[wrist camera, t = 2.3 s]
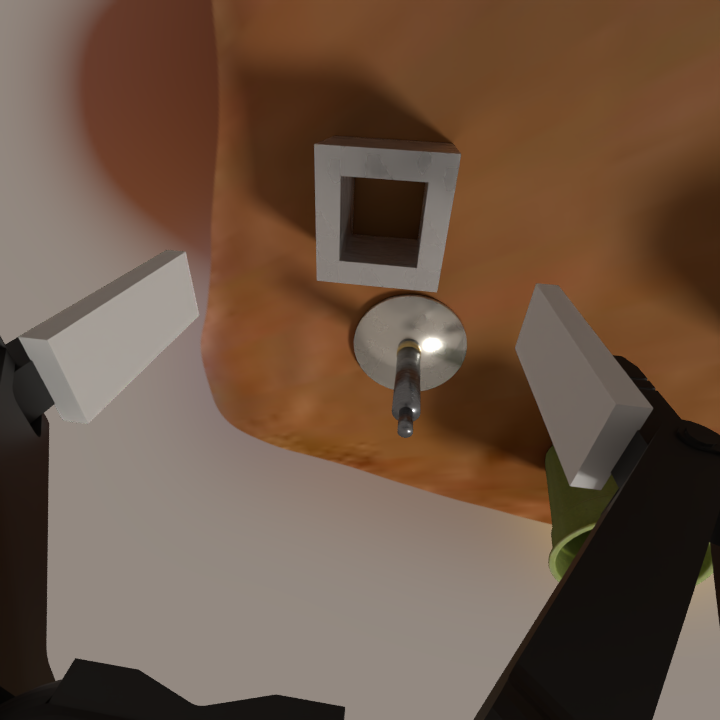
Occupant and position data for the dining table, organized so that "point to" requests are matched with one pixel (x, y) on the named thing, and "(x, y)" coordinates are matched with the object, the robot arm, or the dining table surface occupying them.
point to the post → (409, 350)
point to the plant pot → (580, 517)
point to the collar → (376, 253)
